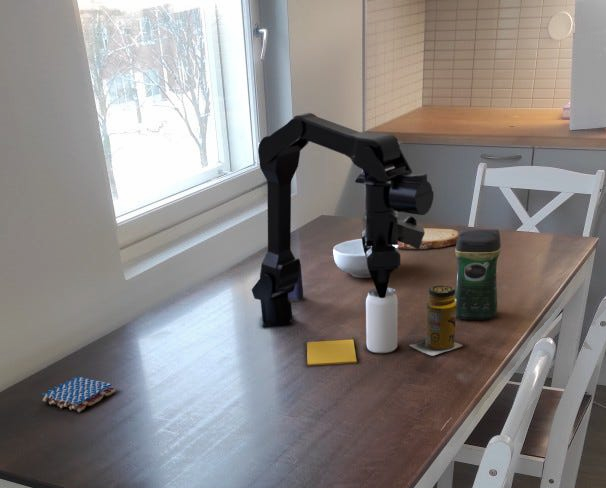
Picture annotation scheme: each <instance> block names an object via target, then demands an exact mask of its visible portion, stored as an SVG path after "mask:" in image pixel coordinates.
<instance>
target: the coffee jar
mask: <svg viewBox="0 0 606 488" xmlns="http://www.w3.org/2000/svg"><path fill="white" fill-rule="evenodd" d="M501 243H502V242H501V233H500V231H499V229H485V228H483V229H482V228H481V229H479V228H478V229H476V228H475V229H461V231H459V235H458V239H457V244H455V256H456V257H455V258H456V259H457V273H456V274H457V275H456V276H457V277H456V286H455V301H456V318H457V319H462V320H474V321H477V320H490V319H492V318H493V317H495V316H496V315H497V312H498V290H497V289H498V287H497V264H498V258H499V256H500V254H501V251H502V244H501Z"/></svg>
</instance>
